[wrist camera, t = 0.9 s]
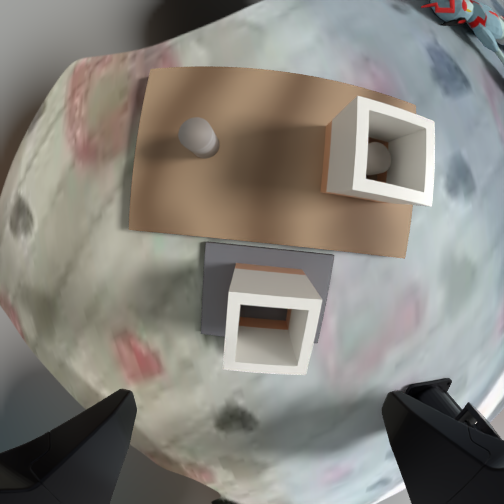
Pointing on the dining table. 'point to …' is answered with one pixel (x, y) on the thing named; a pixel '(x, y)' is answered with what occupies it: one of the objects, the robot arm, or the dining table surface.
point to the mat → (227, 255)
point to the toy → (473, 20)
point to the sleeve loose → (271, 321)
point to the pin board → (254, 162)
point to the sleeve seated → (398, 144)
